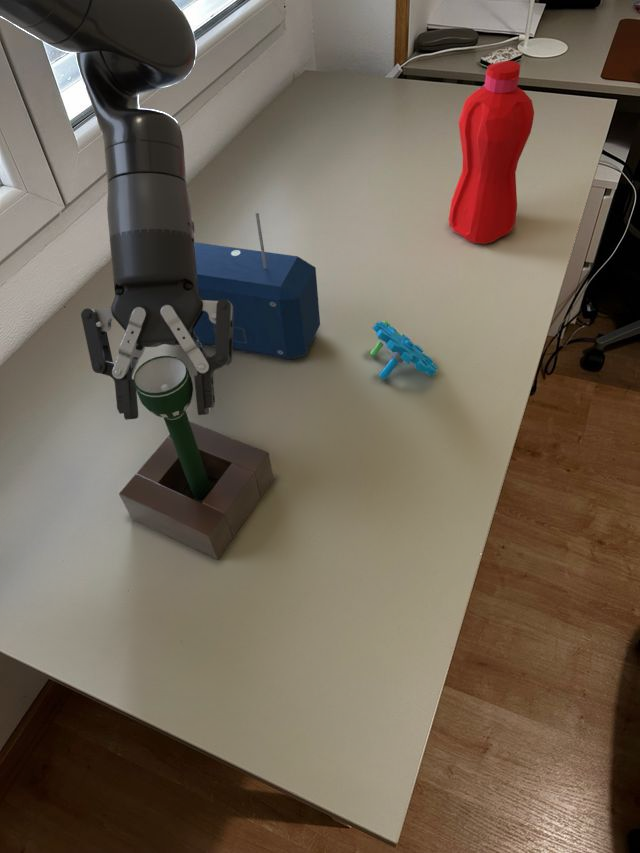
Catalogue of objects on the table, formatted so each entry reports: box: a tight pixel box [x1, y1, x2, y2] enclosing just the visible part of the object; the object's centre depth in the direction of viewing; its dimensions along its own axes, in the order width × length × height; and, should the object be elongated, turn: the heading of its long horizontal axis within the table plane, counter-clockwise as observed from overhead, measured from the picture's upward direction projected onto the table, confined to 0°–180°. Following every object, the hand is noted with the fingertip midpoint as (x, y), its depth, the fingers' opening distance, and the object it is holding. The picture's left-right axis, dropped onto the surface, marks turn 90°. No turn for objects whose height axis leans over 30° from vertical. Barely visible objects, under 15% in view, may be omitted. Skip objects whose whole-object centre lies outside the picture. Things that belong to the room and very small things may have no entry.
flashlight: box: [133, 355, 213, 503], centre depth 67 cm, size 5×5×20 cm
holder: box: [118, 420, 275, 561], centre depth 72 cm, size 12×12×5 cm
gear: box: [369, 320, 439, 381], centre depth 84 cm, size 11×6×10 cm
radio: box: [193, 212, 321, 360], centre depth 84 cm, size 21×9×20 cm, turn 72°
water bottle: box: [448, 60, 535, 245], centre depth 96 cm, size 9×11×25 cm
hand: (167, 416), depth 61 cm, fingers open, 6 cm apart
